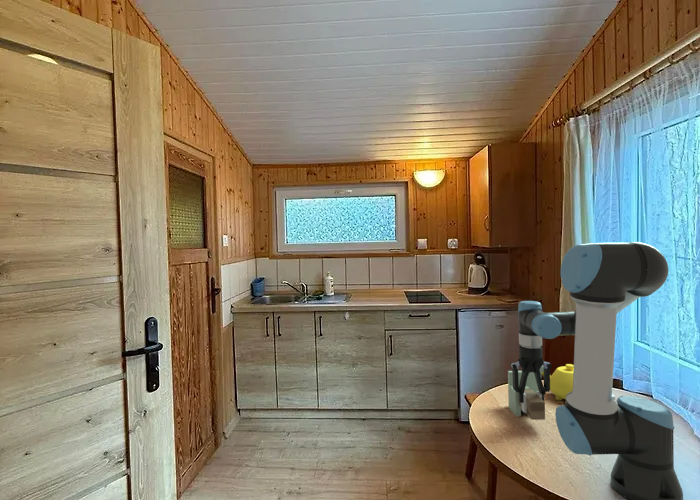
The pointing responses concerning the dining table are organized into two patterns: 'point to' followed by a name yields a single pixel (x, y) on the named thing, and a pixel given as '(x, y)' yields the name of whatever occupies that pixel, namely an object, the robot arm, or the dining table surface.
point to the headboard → (514, 395)
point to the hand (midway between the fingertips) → (531, 411)
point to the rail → (534, 405)
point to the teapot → (562, 381)
